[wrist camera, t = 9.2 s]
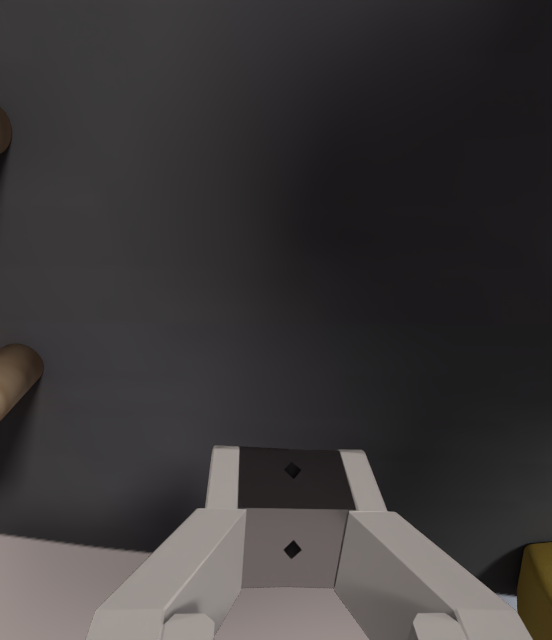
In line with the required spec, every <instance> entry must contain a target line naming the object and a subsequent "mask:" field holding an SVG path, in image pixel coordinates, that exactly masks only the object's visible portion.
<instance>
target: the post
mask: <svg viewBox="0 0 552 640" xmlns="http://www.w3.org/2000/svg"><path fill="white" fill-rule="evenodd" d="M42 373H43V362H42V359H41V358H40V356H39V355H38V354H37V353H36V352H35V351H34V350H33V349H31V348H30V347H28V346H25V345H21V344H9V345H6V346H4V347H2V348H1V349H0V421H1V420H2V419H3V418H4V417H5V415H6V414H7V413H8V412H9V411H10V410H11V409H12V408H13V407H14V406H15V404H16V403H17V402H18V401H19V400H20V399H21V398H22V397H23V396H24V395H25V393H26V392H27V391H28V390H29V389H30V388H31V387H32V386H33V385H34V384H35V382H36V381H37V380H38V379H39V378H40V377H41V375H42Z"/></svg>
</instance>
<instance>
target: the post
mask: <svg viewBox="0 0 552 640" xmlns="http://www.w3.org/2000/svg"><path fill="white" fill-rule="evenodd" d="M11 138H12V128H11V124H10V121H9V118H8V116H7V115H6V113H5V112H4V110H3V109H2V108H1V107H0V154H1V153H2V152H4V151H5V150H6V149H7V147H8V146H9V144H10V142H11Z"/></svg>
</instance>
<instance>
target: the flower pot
mask: <svg viewBox="0 0 552 640" xmlns="http://www.w3.org/2000/svg"><path fill="white" fill-rule="evenodd" d="M517 609H518V615H519V616H520V618H521V620H522V622H523V623H524V625H525V627H526V629H527V630H528V632H529V634H530V636H531V637H532V639H533V640H552V542H547V543H536V544H530V545H527V546H526V547H525V549H524V552H523V558H522V564H521V570H520V575H519V580H518V586H517Z"/></svg>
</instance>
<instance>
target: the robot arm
mask: <svg viewBox="0 0 552 640" xmlns="http://www.w3.org/2000/svg"><path fill="white" fill-rule="evenodd" d="M262 587H263V588H264V587H309V588H335V590H334V591H335V592H336V594H337V595H338V597H339V598H340V599H341V601H342V602H343V604H344V605H345V606H346V608H347V609H348V610H349V612H350V613H351V615H352V616H353V617H354V618H355V620H356V621H357V623H358V624H359V625H360V627H361V628H362V630H363V631H364V632H365V634H366V635H367V637H368V638H369V639H370V640H533V639H532V637H531V636H530V634H529V632H528V630H527V629H526V627H525V625H524V623H523V622H522V620H521V618H520V616H519V615H518V613H517V611H515V609H513V608H512V607H511V606H510V605H508V604H507V603H506V602H505V601H504V600H502V599H501V598H500V597H499V596H497V595H496V594H495V593H494V592H493V591H491V590H490V589H489V588H488V587H486V586H485V585H484V584H483V583H482V582H480V581H479V580H478V579H477V578H476V577H474V576H473V575H472V574H471V573H469V572H468V571H467V570H466V569H465V568H463V567H462V566H461V565H460V564H458V563H457V562H456V561H455V560H454V559H452V558H451V557H450V556H449V555H447V554H446V553H445V552H444V551H443V550H441V549H440V548H439V547H438V546H436V545H435V544H434V543H433V542H432V541H430V540H429V539H428V538H427V537H425V536H424V535H423V534H422V533H421V532H419V531H418V530H417V529H416V528H414V527H413V526H412V525H411V524H410V523H408V522H407V521H406V520H405V519H404V518H402V517H401V516H400V515H399V514H397V513H396V512H388V511H387V509H386V506H385V503H384V501H383V498H382V496H381V493H380V490H379V488H378V485H377V483H376V480H375V477H374V475H373V472H372V470H371V467H370V464H369V462H368V459H367V457H366V454H365V452H364V451H363V450H302V449H281V448H262V447H242V446H240V452H239V447H238V446H214V447H213V450H212V456H211V464H210V472H209V480H208V488H207V496H206V504H205V508H197V509H196V510H195V511H194V512H193V513H192V514H191V515H190V516H189V517H188V518H187V519H186V520H185V521H184V522H183V523H182V524H181V525H180V526H179V527H178V528H177V529H176V530H175V531H174V532H173V533H172V534H171V535H170V536H169V537H168V538H167V539H166V540H165V541H164V542H163V543H162V544H161V545H160V546H159V547H158V548H157V549H156V550H155V551H154V552H153V553H152V554H151V555H150V556H149V557H148V558H147V559H146V560H145V561H144V562H143V563H142V564H141V565H140V566H139V567H138V568H137V569H136V570H135V571H134V572H133V573H132V574H131V575H130V576H129V577H128V578H127V579H126V580H125V582H123V583H122V584H121V585H120V586H119V587H118V588H117V589H116V590H115V591H114V592H113V593H112V594H111V595H110V596H109V598H108V599H106V600H105V601H104V603H102V605H100V606H99V607H98V608H97V609H96V611H95V613H94V616H93V619H92V622H91V625H90V628H89V631H88V634H87V637H86V640H214V636H215V634H216V632H217V631H218V629H219V627H220V626H221V624H222V622H223V621H224V619H225V617H226V616H227V614H228V612H229V611H230V609H231V607H232V606H233V604H234V602H235V600H236V599H237V597H238V595H239V594H240V592H241V588H262Z"/></svg>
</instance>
